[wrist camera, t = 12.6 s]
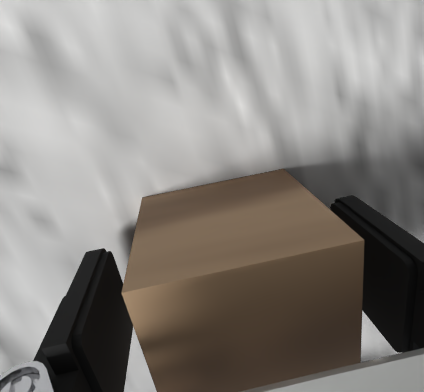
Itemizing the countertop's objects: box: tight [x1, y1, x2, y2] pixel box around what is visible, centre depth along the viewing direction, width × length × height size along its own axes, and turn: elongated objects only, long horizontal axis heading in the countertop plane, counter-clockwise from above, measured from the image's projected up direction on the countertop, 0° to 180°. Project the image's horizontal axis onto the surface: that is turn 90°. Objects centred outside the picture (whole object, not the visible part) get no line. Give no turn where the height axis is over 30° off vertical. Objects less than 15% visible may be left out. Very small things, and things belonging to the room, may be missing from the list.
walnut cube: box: [122, 169, 364, 392], centre depth 9 cm, size 5×5×5 cm
